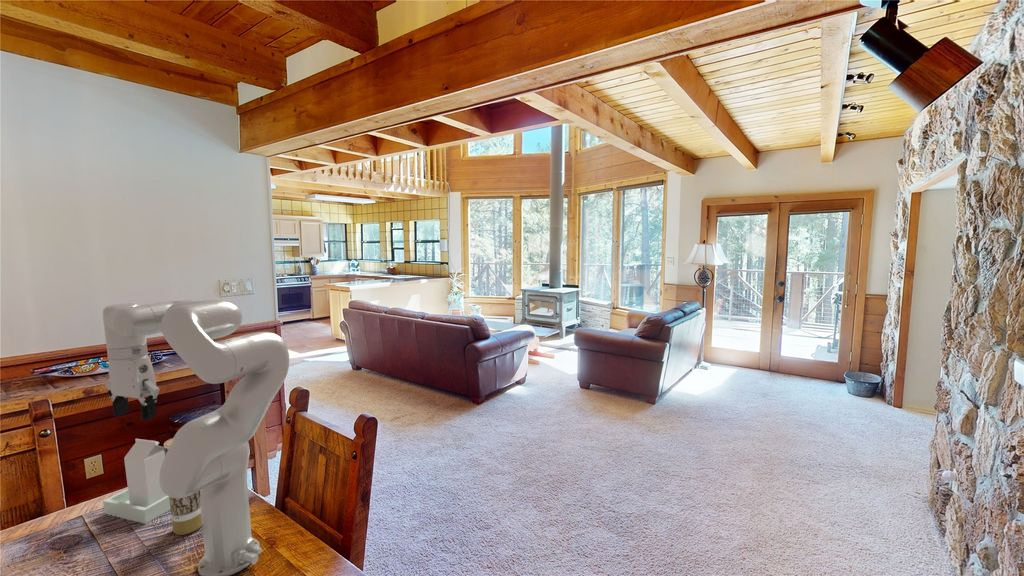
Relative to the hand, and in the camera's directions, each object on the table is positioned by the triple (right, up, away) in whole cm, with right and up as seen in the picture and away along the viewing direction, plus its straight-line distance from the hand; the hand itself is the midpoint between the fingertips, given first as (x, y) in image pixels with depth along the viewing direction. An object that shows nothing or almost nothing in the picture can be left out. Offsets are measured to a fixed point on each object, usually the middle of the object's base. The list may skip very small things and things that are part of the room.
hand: (135, 416), depth 110 cm
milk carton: (-9, -30, +15) cm, 35 cm away
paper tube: (+10, -32, +5) cm, 34 cm away
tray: (-9, -31, +16) cm, 36 cm away
